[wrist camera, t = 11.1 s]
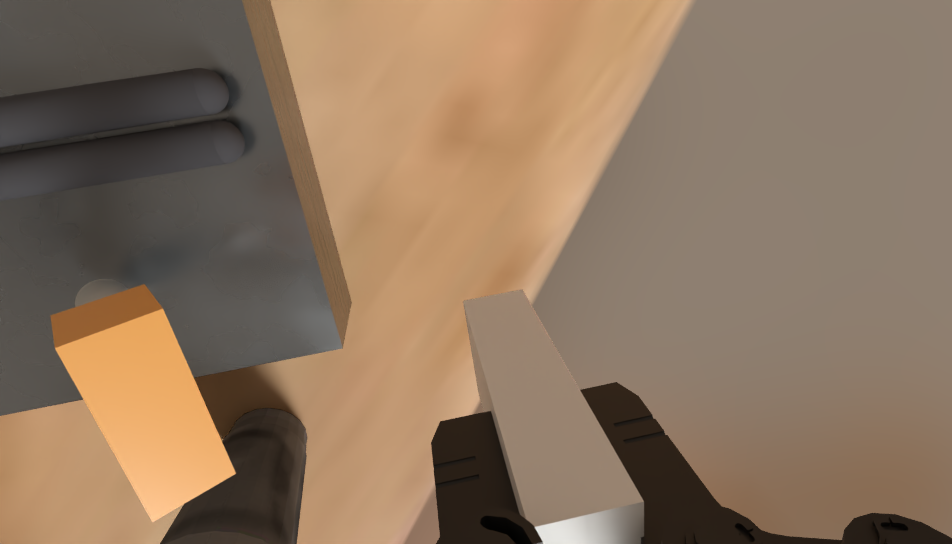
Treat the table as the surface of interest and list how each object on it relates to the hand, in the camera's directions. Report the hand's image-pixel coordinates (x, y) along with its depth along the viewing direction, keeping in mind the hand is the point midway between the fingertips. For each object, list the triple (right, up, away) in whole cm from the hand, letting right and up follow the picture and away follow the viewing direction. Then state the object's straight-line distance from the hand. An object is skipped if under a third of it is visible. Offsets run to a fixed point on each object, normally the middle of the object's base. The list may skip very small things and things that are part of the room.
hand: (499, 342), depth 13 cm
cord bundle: (-17, +7, +6) cm, 19 cm away
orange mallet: (-16, +1, +7) cm, 17 cm away
